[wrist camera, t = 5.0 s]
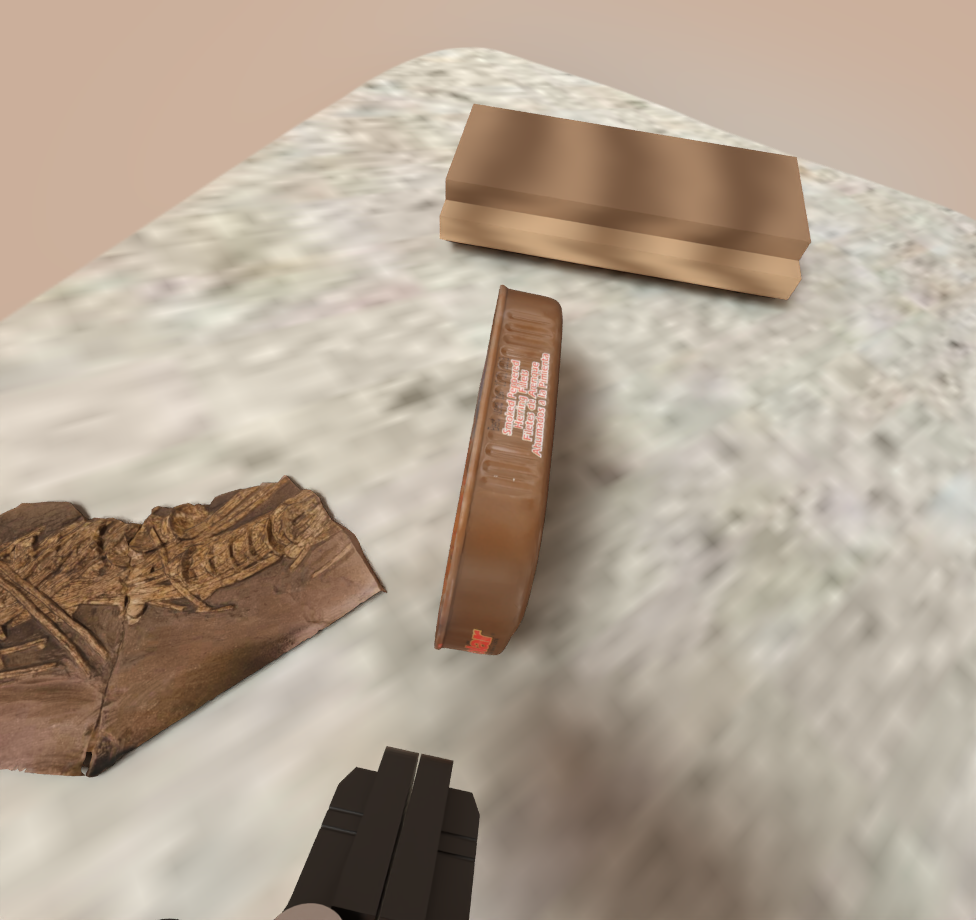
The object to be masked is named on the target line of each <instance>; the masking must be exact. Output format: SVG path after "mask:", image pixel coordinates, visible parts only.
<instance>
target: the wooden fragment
mask: <svg viewBox="0 0 976 920" xmlns="http://www.w3.org/2000/svg"><path fill="white" fill-rule="evenodd" d="M379 591H384V592H386V591H385V589H384V588H383V587H382V586H381V584H380V583H379V581H378V579H377V577H376V575H375V574H374V572H373V570H372V568H371V567H370V565H369V563H368V562H367V560H366V558H365V556H364V554H363V551H362V549H361V546H360V543H359V541H358V539H357V538H356V536H355V535H354V534H353V533H352V532H351V531H350V530H348V529H347V528H345V527H343V526H341V525H340V524H338V523H336V522H334V521H333V520H332V519H331V518H330V516H329V515H328V513H327V511H326V510H325V509H324V507H323V504H322V502H321V499H320V498H319V497H318V496H317V495H316V494H315V493H314V492H313V491H311V490H307V489H304V490H300V489H299V488H298V487H297V486H296V485H295V484H294V483H293V482H292V481H291V480H290V479H289V478H288V476H287V475H284V476H283V477H282V478H281V480H280V481H279V482H278V483H262V484H261V485H260V486H255V487H250V488H247V489H238V490H235V491H231V492H228V493H224V494H222V495H219V496H217V497H215V498H214V499H213V501H212V502H211V504H210V505H201V504H199V503H198V504H197V505H195V506H194V505H192V504H190V503H187V504H182V505H179V506H176V507H174V508H167V507H160V506H157V507H154V508H153V509H152V514H151V515H150V516H149V517H148V518H147V519H146V520H145V521H144V523H143V524H135V523H131V524H126V523H124V522H122V521H120V520H117V519H114V518H107V519H102V518H93V519H91V520H89V519H87V518H86V517H84V516H83V515H82V514H81V513H80V512H79V511H78V510H77V509H76V508H74V506H73V505H72V504H71V503H68V502H41V503H21V504H20V505H19V506H18V507H16V508H14V509H11V510H9V511H7V512H5V513H3V514H1V515H0V770H1V769H9V770H11V771H12V770H16V769H17V768H18V770H19V771H22V770H24V769H26V770H25V772H28V773H37V774H50V775H64V776H85V775H84V774H83V773H82V772H81V767H82V766H86V767H88V768H89V769H88V771H87V773H86V776H87V777H95V776H98V775H99V774H101V773H102V772H104V771H105V770H106V769H107V768H109V767H111V766H112V765H114V764H115V762H116V761H117V760H119V759H120V758H121V757H122V755H123V754H125V753H127V752H129V751H131V750H133V749H135V748H137V747H138V746H140V745H141V744H143V743H144V742H146V741H147V740H149V739H150V738H152V737H153V736H155V735H157V734H158V733H159V732H160V731H162V730H164V729H166V728H168V727H169V726H170V725H172V724H173V723H175V722H177V721H178V720H180V719H182V718H184V717H185V716H187V715H188V714H190V713H192V712H193V711H195V710H196V709H198V708H199V707H201V706H202V705H203V704H205V703H206V702H207V701H208V700H212V699H213V698H215V697H216V696H218V695H219V694H220V693H222V692H224V691H226V690H227V689H229V688H231V687H232V686H234V685H235V684H237V683H238V682H240V681H241V680H243V679H245V678H246V677H248V676H249V675H251V674H253V673H255V672H256V671H258V670H259V669H261V668H262V667H264V666H265V665H267V664H268V663H270V662H272V661H274V660H276V659H277V658H279V657H280V656H281V655H282V654H283V653H285V652H287V651H289V650H291V649H292V648H294V647H296V646H297V645H298V644H300V643H301V642H302V641H305V640H306V639H307V638H311V637H312V636H314V635H315V634H316V633H317V632H318V630H319V629H321V630H322V629H324V628H325V627H327V626H329V625H330V624H332V623H333V622H334V621H336V620H337V619H339V618H341V617H342V616H344V615H345V614H346V613H348V612H349V611H351V610H353V609H354V608H355V607H356V606H358V605H359V604H360V603H361V602H364V601H366V600H367V599H368V598H370V597H371V596H373V595H374V594H376V593H378V592H379ZM386 593H387V592H386ZM86 752H92V758H91V761H90V765H84V764H83V761H84V760H85V757H86Z"/></svg>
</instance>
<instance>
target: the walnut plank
mask: <svg viewBox="0 0 976 920" xmlns="http://www.w3.org/2000/svg"><path fill="white" fill-rule="evenodd" d="M440 239H444V240H447V241H452V242H458V243H464V244H469V245H475V246H481V247H486V248H492V249H498V250H503V251H509V252H515V253H520V254H526V255H532V256H538V257H543V258H549V259H555V260H560V261H566V262H572V263H577V264H583V265H589V266H594V267H600V268H606V269H611V270H617V271H623V272H628V273H634V274H640V275H646V276H651V277H657V278H663V279H668V280H674V281H680V282H685V283H691V284H697V285H702V286H708V287H714V288H719V289H725V290H731V291H737V292H742V293H748V294H754V295H759V296H765V297H771V298H780V299H785V300H788V298H789V297H790V295H791V294H792V292H793V291H794V289H795V288H796V286H797V285H798V283H799V282H800V280H801V272H800V266H799V260H800V258H801V257H802V255H803V253H804V252H805V250H806V249H807V247H808V246H809V244H810V243H811V239H810V233H809V227H808V221H807V215H806V209H805V204H804V198H803V192H802V186H801V180H800V174H799V168H798V162H797V157H792V156H786V155H779V154H773V153H767V152H761V151H755V150H749V149H743V148H737V147H731V146H725V145H719V144H713V143H707V142H701V141H695V140H689V139H683V138H677V137H671V136H665V135H659V134H653V133H647V132H641V131H635V130H629V129H623V128H617V127H611V126H605V125H599V124H593V123H587V122H581V121H575V120H569V119H563V118H557V117H551V116H545V115H539V114H533V113H527V112H521V111H515V110H509V109H502V108H496V107H490V106H484V105H478V104H473V107H472V110H471V112H470V115H469V118H468V121H467V123H466V126H465V129H464V131H463V134H462V137H461V139H460V142H459V145H458V147H457V150H456V153H455V155H454V158H453V161H452V163H451V166H450V169H449V172H448V174H447V177H446V200H445V203H444V206H443V208H442V211H441V214H440Z"/></svg>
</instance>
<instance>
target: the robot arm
mask: <svg viewBox="0 0 976 920" xmlns="http://www.w3.org/2000/svg"><path fill="white" fill-rule="evenodd" d="M418 756H419V753H415V752H411V751H406V750H402V749H397V748H393V747H388V746H387V747H386V749H385V752H384V755H383V758H382V760H381V763H380V766H379V769H378V772H376V771H371V770H367V769H362V768H358V767H356V768H355V769H354V770H353V771H352V772H351V773H350V774H349V775H347V776H346V777H345V778H344V779H343V780H342V781H341V782H340V783H339V785H338V787H337V789H336V792H335V794H334V796H333V799H332V801H331V804H330V806H329V810H328V811H327V813H326V815H325V818H324V820H323V823H322V826H321V829H320V830H319V832H318V835H317V837H316V839H315V842H314V844H313V846H312V849H311V851H310V854H309V856H308V858H307V861H306V863H305V865H304V868H303V870H302V873H301V875H300V877H299V880H298V882H297V885H296V887H295V889H294V892H293V894H292V896H291V899H290V901H289V903H288V905H287V906H286V908H285V909H284V911H283V912H282V913H281V914H280V915H279V916H277V917H276V918H275V919H274V920H469V913H470V904H471V894H472V885H473V875H474V866H475V856H476V846H477V837H478V827H479V818H480V814H479V811H478V808H477V805H476V802H475V799H474V797H473V794H472V793H471V792H466V791H462V790H457V789H453V788H449V784H450V778H451V772H452V767H453V761H452V760H448V759H443V758H439V757H434V756H430V755H425V754H421V758H420V761H419V765H418V769H417V773H416V777H415V772H416V767H417V762H418ZM414 777H415V781H414ZM413 782H414V785H413ZM412 787H413V789H412ZM411 792H412V793H411ZM161 920H178V919H161Z"/></svg>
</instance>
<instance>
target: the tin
mask: <svg viewBox="0 0 976 920" xmlns="http://www.w3.org/2000/svg"><path fill="white" fill-rule="evenodd" d="M562 324H563V318H562V308H561V306H560V304H559V303H558V302H557V301H556V300H554V299H552V298H549V297H545V296H541V295H536V294H531V293H526V292H522V291H517V290H512V289H508V288H507V287H506V286H504V285H501V286H500V289H499V295H498V299H497V305H496V309H495V314H494V319H493V325H492V330H491V335H490V340H489V345H488V350H487V356H486V361H485V366H484V370H483V374H482V379H481V383H480V387H479V393H478V398H477V404H476V409H475V415H474V423H473V427H472V432H471V437H470V442H469V448H468V453H467V458H466V464H465V470H464V475H463V480H462V486H461V491H460V497H459V502H458V507H457V513H456V518H455V523H454V529H453V534H452V539H451V545H450V550H449V556H448V562H447V567H446V573H445V578H444V585H443V591H442V597H441V602H440V607H439V613H438V620H437V626H436V633H435V643H434V648H435V649H437V650H440V649H441V648H450V649H456V650H463V651H468V652H473V653H478V654H488V655H498V654H500V653H501V652H502V651H503V650H504V649H505V647H506V645H507V644H508V642H509V640H510V638H511V636H512V635H513V634H514V633H515V631H516V630H517V628H518V627H519V625H520V623H521V621H522V619H523V617H524V613H525V610H526V607H527V604H528V600H529V596H530V592H531V588H532V584H533V580H534V575H535V571H536V567H537V562H538V556H539V551H540V545H541V540H542V533H543V526H544V520H545V512H546V505H547V497H548V488H549V476H550V468H551V456H552V448H553V435H554V427H555V416H556V404H557V393H558V382H559V368H560V355H561V341H562Z"/></svg>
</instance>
